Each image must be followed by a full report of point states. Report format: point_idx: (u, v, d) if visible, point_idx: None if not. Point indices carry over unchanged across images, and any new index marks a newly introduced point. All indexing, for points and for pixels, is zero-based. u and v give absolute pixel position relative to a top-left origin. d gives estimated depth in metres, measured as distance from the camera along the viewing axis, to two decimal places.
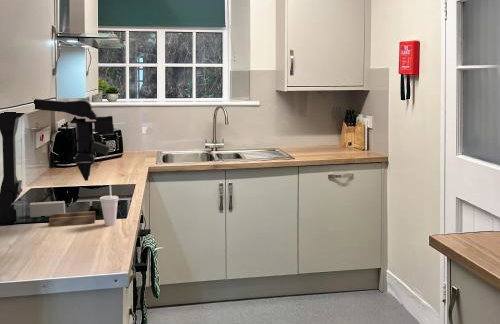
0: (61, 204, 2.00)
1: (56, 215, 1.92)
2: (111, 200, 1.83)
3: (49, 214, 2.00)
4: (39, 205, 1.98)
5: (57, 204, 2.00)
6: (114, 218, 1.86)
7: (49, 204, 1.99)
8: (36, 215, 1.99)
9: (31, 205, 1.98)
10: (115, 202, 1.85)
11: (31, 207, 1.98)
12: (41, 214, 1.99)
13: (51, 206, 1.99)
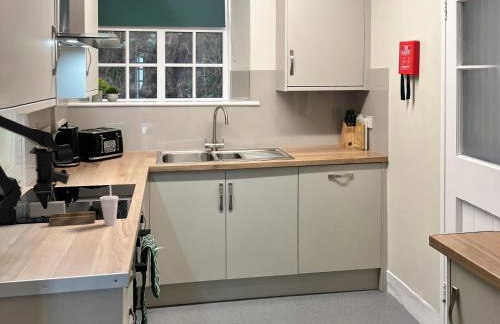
0: (61, 204, 2.00)
1: (56, 215, 1.92)
2: (111, 200, 1.83)
3: (49, 214, 2.00)
4: (39, 205, 1.98)
5: (57, 204, 2.00)
6: (114, 218, 1.86)
7: (49, 204, 1.99)
8: (36, 215, 1.99)
9: (31, 205, 1.98)
10: (115, 202, 1.85)
11: (31, 207, 1.98)
12: (41, 214, 1.99)
13: (51, 206, 1.99)
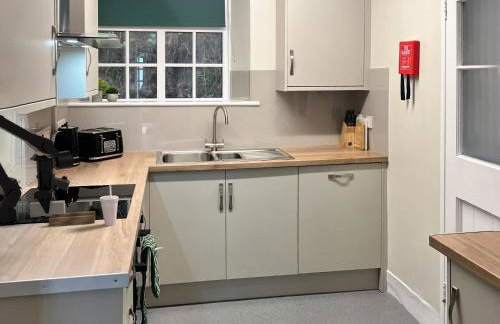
0: (61, 204, 2.00)
1: (56, 215, 1.92)
2: (111, 200, 1.83)
3: (49, 214, 2.00)
4: (39, 205, 1.98)
5: (57, 204, 2.00)
6: (114, 218, 1.86)
7: None
8: (36, 215, 1.99)
9: (31, 205, 1.98)
10: (115, 202, 1.85)
11: (31, 207, 1.98)
12: (41, 214, 1.99)
13: (51, 206, 1.99)
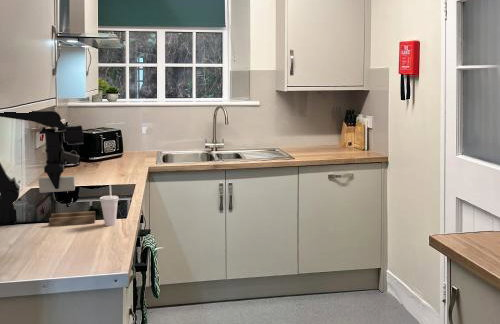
0: (71, 178, 1.95)
1: (56, 215, 1.92)
2: (111, 200, 1.83)
3: (59, 189, 1.94)
4: (48, 179, 1.93)
5: (67, 178, 1.94)
6: (114, 218, 1.86)
7: None
8: (45, 190, 1.93)
9: (40, 180, 1.92)
10: (115, 202, 1.85)
11: (40, 182, 1.92)
12: (51, 189, 1.93)
13: (61, 181, 1.94)
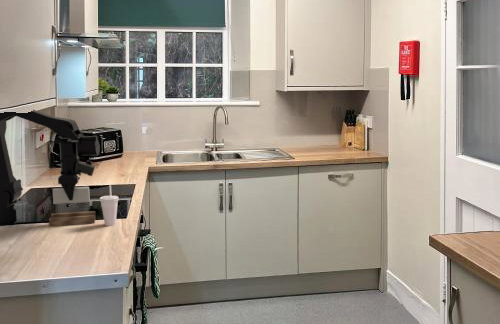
0: (86, 190, 1.89)
1: (56, 215, 1.92)
2: (111, 200, 1.83)
3: (73, 200, 1.88)
4: (63, 190, 1.87)
5: (82, 190, 1.89)
6: (114, 218, 1.86)
7: None
8: (59, 201, 1.87)
9: (54, 190, 1.86)
10: (115, 202, 1.85)
11: (54, 192, 1.86)
12: (65, 200, 1.88)
13: (75, 192, 1.88)
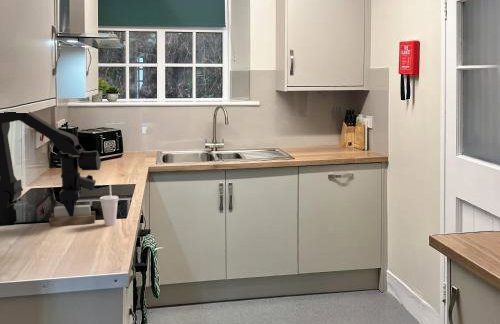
0: (87, 208, 1.90)
1: None
2: (111, 200, 1.83)
3: None
4: (64, 209, 1.88)
5: (83, 208, 1.90)
6: (114, 218, 1.86)
7: (74, 208, 1.89)
8: None
9: (56, 209, 1.87)
10: (115, 202, 1.85)
11: (56, 211, 1.88)
12: None
13: (76, 211, 1.89)
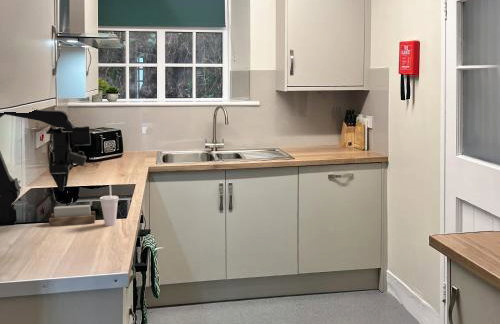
0: (87, 208, 1.90)
1: None
2: (111, 200, 1.83)
3: None
4: (64, 209, 1.88)
5: (83, 208, 1.90)
6: (114, 218, 1.86)
7: (74, 208, 1.89)
8: None
9: (56, 209, 1.87)
10: (115, 202, 1.85)
11: (56, 211, 1.88)
12: None
13: (76, 211, 1.89)
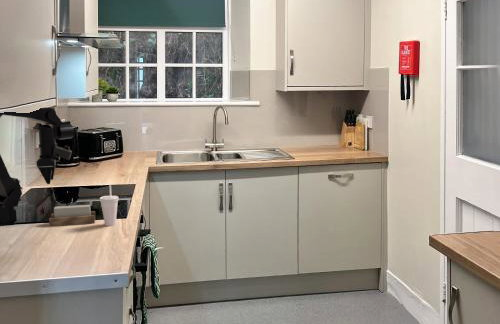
0: (87, 208, 1.90)
1: None
2: (111, 200, 1.83)
3: None
4: (64, 209, 1.88)
5: (83, 208, 1.90)
6: (114, 218, 1.86)
7: (74, 208, 1.89)
8: None
9: (56, 209, 1.87)
10: (115, 202, 1.85)
11: (56, 211, 1.88)
12: None
13: (76, 211, 1.89)
